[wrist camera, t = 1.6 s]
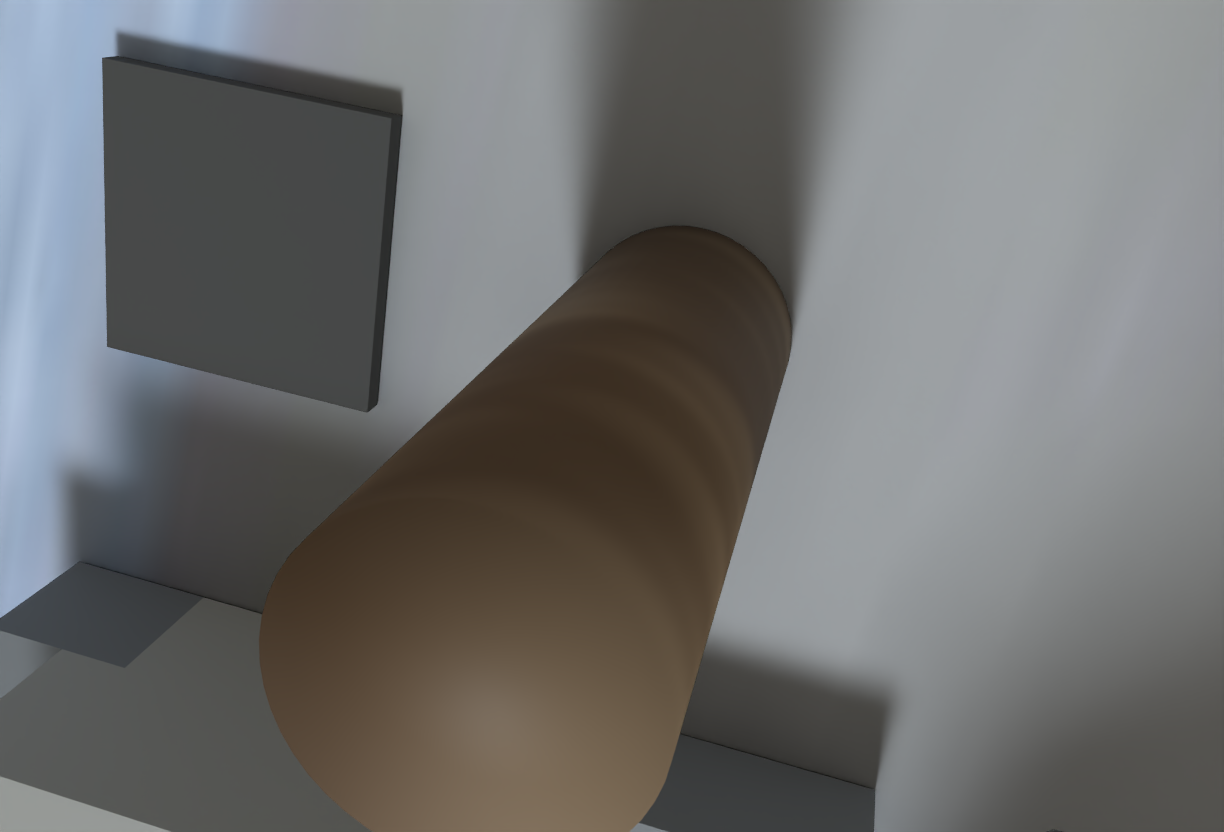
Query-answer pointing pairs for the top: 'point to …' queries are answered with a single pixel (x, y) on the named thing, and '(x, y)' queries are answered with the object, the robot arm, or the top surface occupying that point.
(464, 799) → the dowel
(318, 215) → the pad
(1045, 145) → the top surface
